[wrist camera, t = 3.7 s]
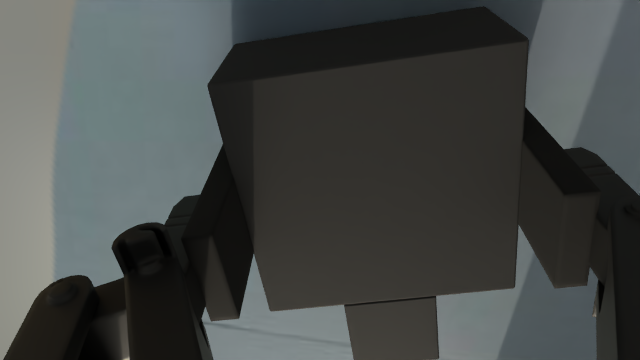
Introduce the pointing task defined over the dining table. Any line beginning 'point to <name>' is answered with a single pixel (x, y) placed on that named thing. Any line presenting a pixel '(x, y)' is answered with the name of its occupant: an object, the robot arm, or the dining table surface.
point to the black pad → (379, 168)
